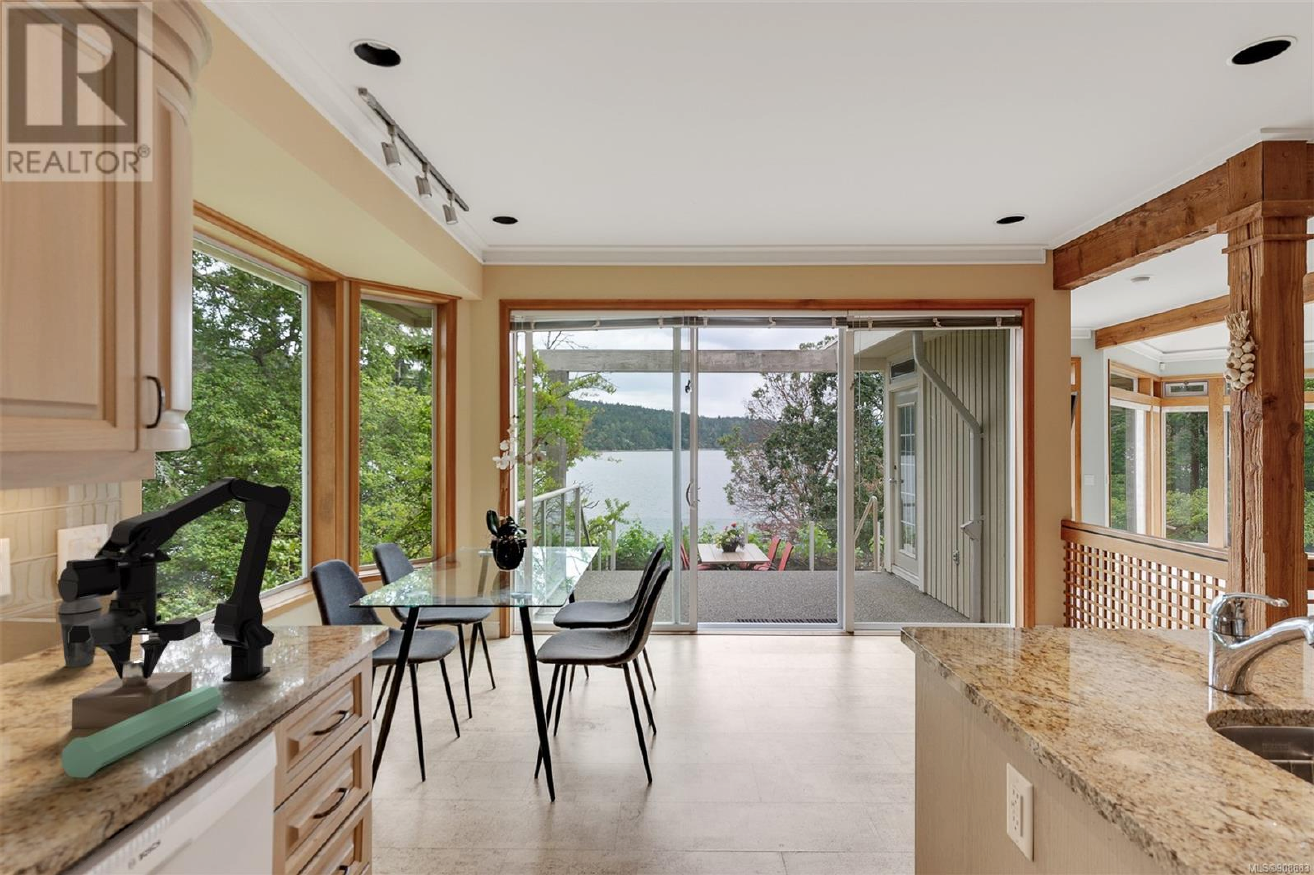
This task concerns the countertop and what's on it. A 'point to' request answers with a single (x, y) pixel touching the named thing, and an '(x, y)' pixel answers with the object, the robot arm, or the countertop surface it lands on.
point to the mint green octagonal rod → (137, 732)
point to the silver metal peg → (133, 673)
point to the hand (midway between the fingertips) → (135, 678)
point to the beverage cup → (72, 616)
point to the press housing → (126, 699)
